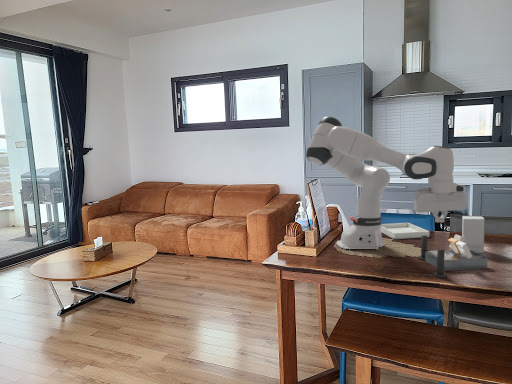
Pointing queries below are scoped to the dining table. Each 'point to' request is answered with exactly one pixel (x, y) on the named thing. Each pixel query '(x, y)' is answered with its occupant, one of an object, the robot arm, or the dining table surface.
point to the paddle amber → (454, 245)
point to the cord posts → (440, 257)
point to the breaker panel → (458, 260)
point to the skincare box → (473, 232)
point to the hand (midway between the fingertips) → (439, 222)
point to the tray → (403, 230)
